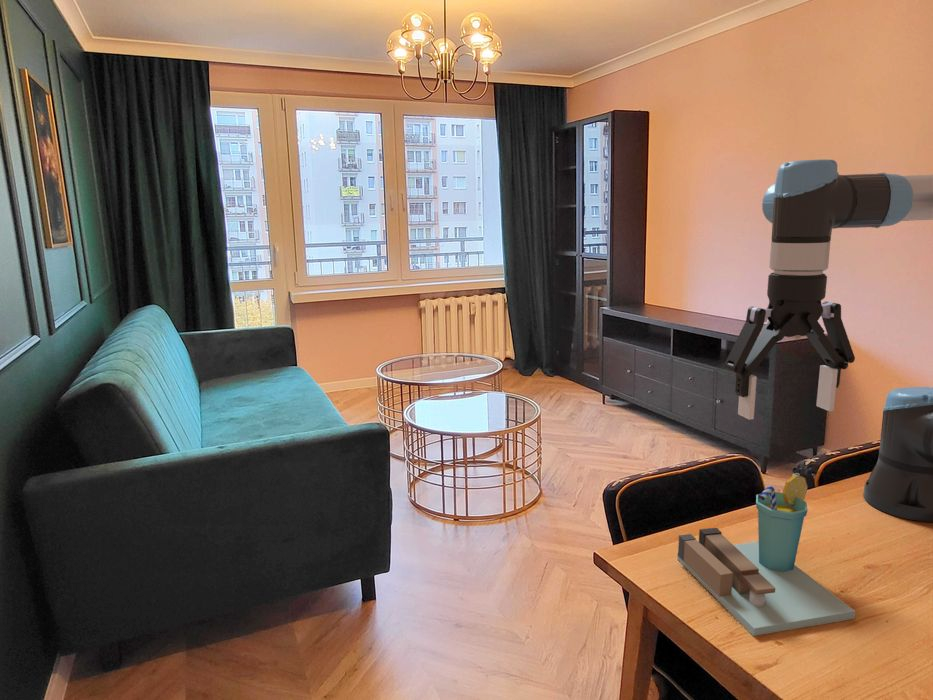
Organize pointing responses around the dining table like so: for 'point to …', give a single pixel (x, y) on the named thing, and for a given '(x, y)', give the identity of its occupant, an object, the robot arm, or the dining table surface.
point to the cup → (781, 523)
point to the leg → (735, 562)
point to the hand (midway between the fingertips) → (785, 412)
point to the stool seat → (764, 613)
